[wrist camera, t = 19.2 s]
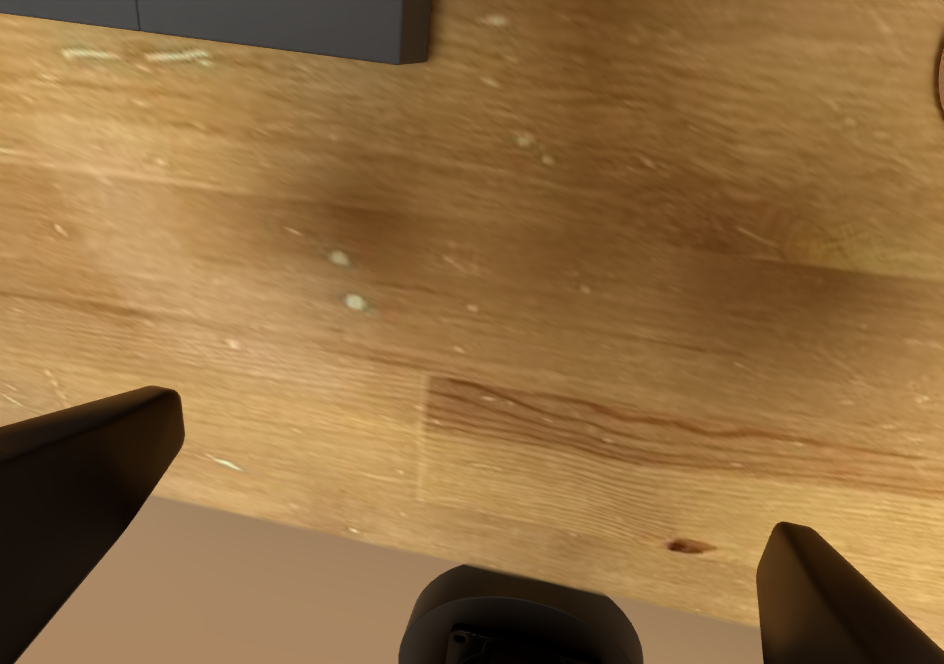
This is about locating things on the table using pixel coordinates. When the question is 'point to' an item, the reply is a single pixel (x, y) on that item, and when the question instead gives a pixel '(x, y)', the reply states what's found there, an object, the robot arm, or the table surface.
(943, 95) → the pill bottle
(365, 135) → the table surface
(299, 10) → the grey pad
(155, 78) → the table surface
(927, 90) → the table surface
